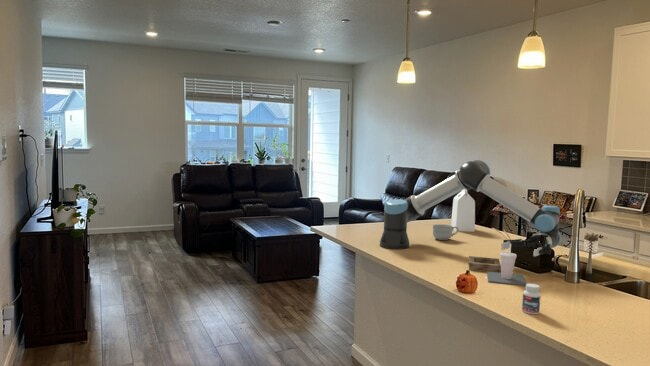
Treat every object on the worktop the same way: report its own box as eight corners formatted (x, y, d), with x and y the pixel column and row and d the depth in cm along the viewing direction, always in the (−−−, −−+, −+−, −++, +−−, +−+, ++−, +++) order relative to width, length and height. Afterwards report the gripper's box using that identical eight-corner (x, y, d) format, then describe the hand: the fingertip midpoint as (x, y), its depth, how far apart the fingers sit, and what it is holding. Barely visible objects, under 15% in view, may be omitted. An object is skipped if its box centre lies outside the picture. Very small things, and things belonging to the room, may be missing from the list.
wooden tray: (468, 269, 204) (469, 262, 203) (468, 262, 215) (469, 256, 215) (499, 272, 200) (500, 265, 200) (498, 265, 212) (498, 258, 212)
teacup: (430, 240, 261) (431, 225, 260) (433, 236, 271) (434, 222, 270) (456, 242, 256) (457, 228, 255) (458, 238, 266) (459, 224, 265)
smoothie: (513, 281, 187) (516, 246, 185) (496, 277, 190) (498, 243, 189) (516, 277, 192) (519, 243, 191) (499, 274, 195) (502, 240, 194)
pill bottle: (521, 313, 154) (523, 286, 153) (521, 307, 159) (523, 282, 158) (539, 315, 152) (541, 288, 151) (539, 310, 157) (541, 284, 156)
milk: (474, 231, 288) (477, 189, 286) (455, 231, 289) (457, 188, 286) (469, 227, 300) (471, 186, 298) (450, 227, 301) (452, 186, 298)
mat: (488, 282, 186) (488, 280, 186) (486, 272, 200) (487, 271, 200) (526, 286, 182) (526, 284, 182) (522, 276, 196) (522, 274, 196)
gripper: (568, 256, 202) (548, 265, 188) (511, 245, 220) (489, 252, 206) (569, 239, 201) (549, 246, 187) (512, 229, 219) (490, 235, 205)
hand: (517, 249), depth 196 cm, fingers open, 13 cm apart
